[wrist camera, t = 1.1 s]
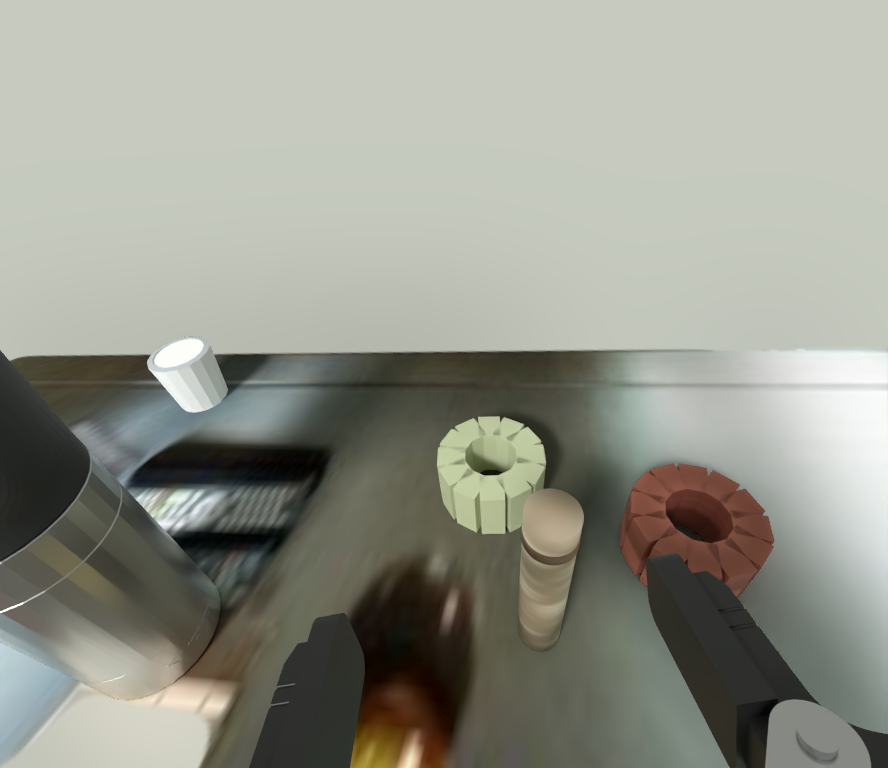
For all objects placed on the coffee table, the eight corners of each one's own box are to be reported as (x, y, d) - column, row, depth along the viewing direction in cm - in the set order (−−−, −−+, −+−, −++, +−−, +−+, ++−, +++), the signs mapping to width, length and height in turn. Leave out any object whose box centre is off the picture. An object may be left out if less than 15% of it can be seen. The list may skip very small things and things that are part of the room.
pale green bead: (440, 534, 39) (434, 501, 35) (444, 452, 46) (440, 418, 42) (547, 533, 38) (552, 499, 35) (535, 450, 45) (538, 415, 42)
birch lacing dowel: (513, 644, 32) (516, 533, 22) (521, 601, 34) (527, 482, 24) (557, 658, 31) (582, 548, 21) (562, 613, 33) (586, 494, 23)
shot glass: (220, 414, 53) (193, 369, 49) (165, 417, 54) (134, 373, 49) (241, 377, 58) (218, 333, 54) (191, 380, 59) (164, 337, 54)
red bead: (618, 589, 34) (630, 557, 31) (621, 491, 40) (631, 455, 37) (757, 624, 31) (787, 592, 28) (736, 512, 38) (758, 476, 34)
